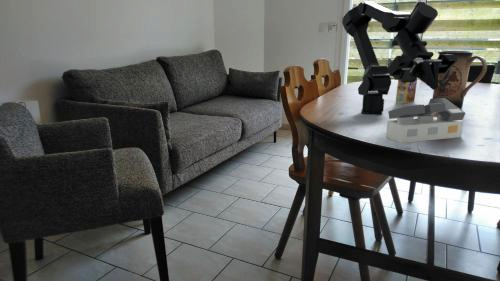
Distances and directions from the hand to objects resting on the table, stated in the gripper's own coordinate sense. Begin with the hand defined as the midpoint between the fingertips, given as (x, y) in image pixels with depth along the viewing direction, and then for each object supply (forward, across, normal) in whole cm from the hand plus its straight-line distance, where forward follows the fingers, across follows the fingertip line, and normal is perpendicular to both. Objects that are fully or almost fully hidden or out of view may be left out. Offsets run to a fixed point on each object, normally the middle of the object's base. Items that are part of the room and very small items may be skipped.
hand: (435, 88), depth 97 cm
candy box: (-22, -24, -38) cm, 50 cm away
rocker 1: (+6, +12, 0) cm, 14 cm away
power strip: (+11, +6, -5) cm, 14 cm away
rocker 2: (+6, +6, 0) cm, 9 cm away
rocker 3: (+6, 0, 0) cm, 7 cm away
